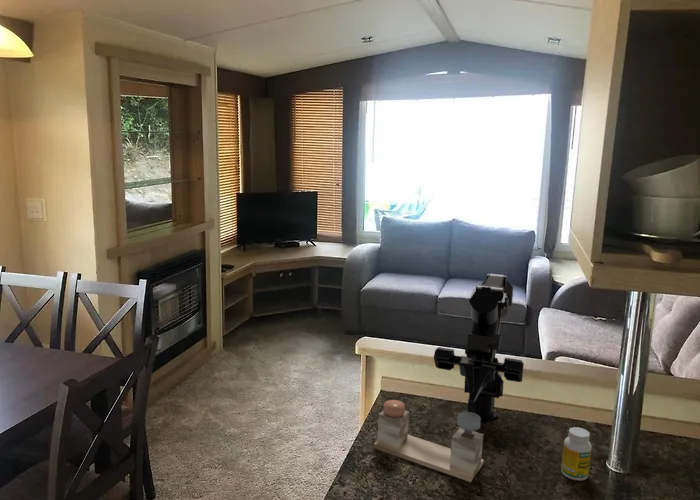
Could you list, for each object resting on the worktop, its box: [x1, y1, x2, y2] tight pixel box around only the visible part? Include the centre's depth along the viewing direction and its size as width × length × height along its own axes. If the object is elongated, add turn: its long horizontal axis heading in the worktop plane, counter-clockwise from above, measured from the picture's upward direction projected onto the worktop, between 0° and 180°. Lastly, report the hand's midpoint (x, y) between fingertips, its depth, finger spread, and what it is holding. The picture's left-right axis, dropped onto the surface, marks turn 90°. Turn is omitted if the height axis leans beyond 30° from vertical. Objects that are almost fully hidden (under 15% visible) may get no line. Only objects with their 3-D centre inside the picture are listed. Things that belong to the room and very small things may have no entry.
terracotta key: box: [383, 399, 406, 417], centre depth 126 cm, size 5×5×3 cm
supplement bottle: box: [560, 426, 593, 482], centre depth 117 cm, size 5×5×10 cm
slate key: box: [456, 411, 481, 434], centre depth 117 cm, size 5×5×3 cm
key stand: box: [372, 409, 485, 483], centre depth 123 cm, size 8×22×8 cm, turn 59°
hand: (472, 401), depth 119 cm, fingers closed
